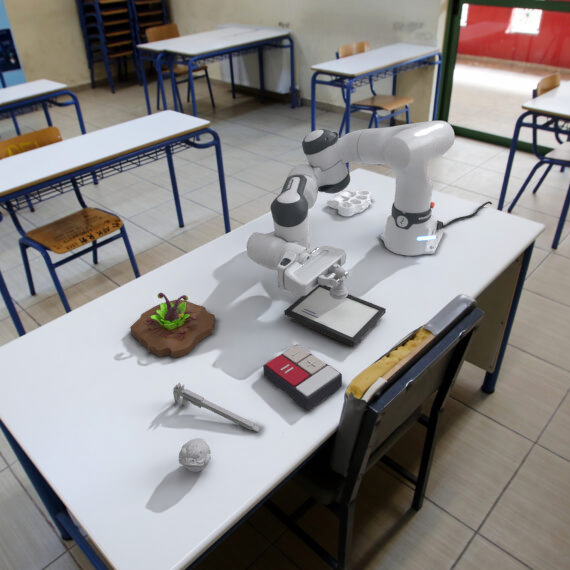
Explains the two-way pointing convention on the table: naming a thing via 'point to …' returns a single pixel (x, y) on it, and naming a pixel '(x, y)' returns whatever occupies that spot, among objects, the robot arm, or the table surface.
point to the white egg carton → (350, 202)
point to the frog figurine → (195, 455)
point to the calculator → (303, 376)
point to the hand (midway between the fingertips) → (342, 279)
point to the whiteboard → (335, 314)
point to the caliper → (210, 406)
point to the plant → (173, 327)
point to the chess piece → (339, 290)
